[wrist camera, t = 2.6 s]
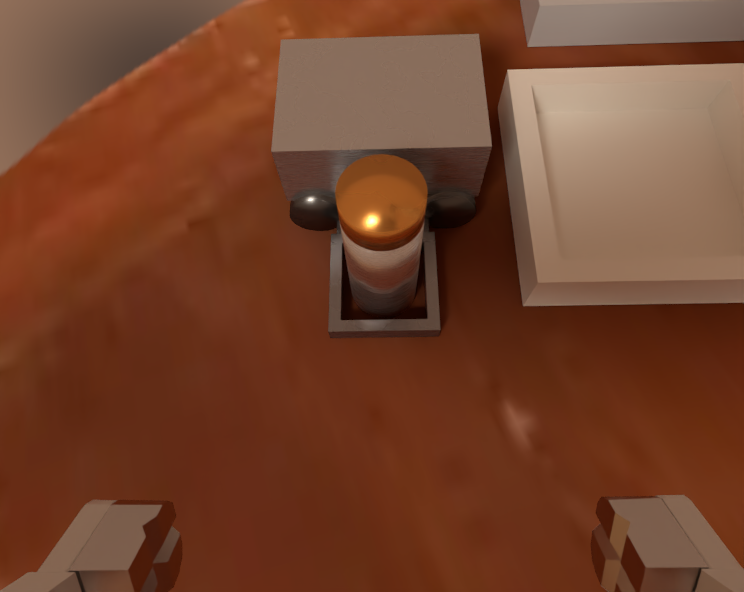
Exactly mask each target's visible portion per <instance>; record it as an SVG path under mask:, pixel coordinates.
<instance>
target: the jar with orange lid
mask: <svg viewBox="0 0 744 592" xmlns="http://www.w3.org/2000/svg"><path fill="white" fill-rule="evenodd" d="M427 193H428V190H427V184H426V181H425V179H424V177H423V175H422V174H421V172H420V171H419V170H418V169H417V167H415V166H414V165H413V164H412V163H410V162H409V161H407V160H405V159H403V158H400V157H397V156H393V155H387V154H377V155H371V156H367V157H363V158H361V159H359V160H357V161H355V162H353V163H352V164H351V165H349V166H348V167H347V168H346V169H345V170H344V171H343V173H342V174H341V176H340V177H339V179H338V182H337V185H336V190H335V198H336V204H337V210H338V216H339V222H340V228H341V233H342V239H343V245H344V251H345V257H346V263H347V269H348V274H349V280H350V286H351V292H352V297H353V299H354V301H355V303H356V305H357V306H358V307H359V308H360V309H361V310H362V311H363V312H365V313H366V314H368V315H370V316H373V317H377V318H391V317H394V316H397V315H399V314H401V313H403V312H404V311H405V310H407V309H408V308H409V306H410V305H411V304H412V302H413V300H414V298H415V295H416V288H417V279H418V271H419V263H420V254H421V246H422V237H423V229H424V221H425V212H426V204H427Z"/></svg>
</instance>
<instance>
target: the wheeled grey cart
mask: <svg viewBox="0 0 744 592" xmlns="http://www.w3.org/2000/svg"><path fill="white" fill-rule="evenodd" d="M491 148H492V142H491V133H490V125H489V116H488V108H487V99H486V91H485V82H484V74H483V66H482V57H481V49H480V40H479V34H459V35H425V36H392V37H358V38H324V39H290V40H281V47H280V58H279V70H278V81H277V93H276V104H275V116H274V127H273V139H272V150H271V152H272V155H273V158H274V161H275V164H276V167H277V170H278V174H279V177H280V180H281V183H282V186H283V189H284V192H285V195H286V198H287V201H291V204H290V218H291V220H292V221H293V222H294V223H295V224H296V225H298V226H300V227H302V228H305V229H309V230H316V231H325V230H331V229H334V228H337V234H331V261H330V295H329V329H328V332H329V335H330V338H359V337H429V336H439V333H440V314H439V297H438V280H437V264H436V247H435V232H429V226H431V227H435V228H453V227H457V226H461V225H463V224H465V223H467V222H469V221H470V220H471V219H473V217H474V216H475V214H476V206H475V197H478V195H479V191H480V188H481V184H482V180H483V177H484V173H485V170H486V166H487V163H488V159H489V155H490V152H491ZM377 154H387V155H393V156H397V157H400V158H403V159H405V160H407V161H409V162H410V163H412V164H413V165H414V166H415V167H417V169H418V170H419V171H420V172H421V174H422V175H423V177H424V179H425V181H426V184H427V190H428V193H427V204H426V212H425V221H424V229H423V237H422V246H421V251H423V264H424V284H425V305H426V319H388V320H342V313H343V259H344V252H345V251H344V245H343V239H342V233H341V228H340V222H339V216H338V210H337V204H336V198H335V190H336V185H337V182H338V179H339V177H340V176H341V174H342V173H343V171H344V170H345V169H346V168H347V167H348V166H349V165H351V164H352V163H353V162H355V161H357V160H359V159H361V158H363V157H367V156H371V155H377Z"/></svg>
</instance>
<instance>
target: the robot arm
mask: <svg viewBox="0 0 744 592" xmlns="http://www.w3.org/2000/svg"><path fill="white" fill-rule="evenodd" d="M596 515H597V517H598V519H599V521H600V524H599V525H598V526H597V527H596V528H595V529H594V530H593V531H592V538H591V554H592V562H593V565H594V569H595V572H596V575H597V577H598V579H599V582H600V584H601V586H602V587H604V588H605V589H606V590H607V591H608V592H744V569H743V568H742V567H741V566H740V564H739V563H738V562H737V560H736V559H735V558H734V556H733V555H732V554H731V552H730V551H729V550H728V549H727V547H726V546H725V545H724V543H723V542H722V541H721V539H720V538H719V537H718V535H717V534H716V533H715V531H714V530H713V529H712V527H711V526H710V525H709V524H708V522H707V521H706V520H705V518H704V517H703V516H702V514H701V513H700V512H699V510H698V509H697V508H696V506H695V505H694V504H693V503H692V501H691V500H690V499H689V498H687V497H686V496H684V495H659V496H615V497H601V498H600V500H599V501H598V503H597V509H596ZM175 518H176V513H175V509H174V505H173V503H172V502H170V501H160V500H92V501H90V502H88V503H87V504H85V505H84V507H83V508H82V509H81V511H80V512H79V514H78V515H77V516H76V518H75V519H74V521H73V522H72V523H71V525H70V526H69V528H68V529H67V530H66V532H65V533H64V535H63V536H62V537H61V539H60V540H59V542H58V543H57V544H56V546H55V547H54V549H53V550H52V551H51V553H50V554H49V556H48V557H47V558H46V560H45V561H44V562H43V564H42V565H41V567H40V568H39V569H38V571H37V572H28V573H27V574H25V575H24V576H22V577H21V578H19V579H17V580H16V581H14V582H13V583H11V584H10V585H8V586H7V587H5V588H4V589H2V590H1V591H0V592H168V591H170V590H171V589H172V588H173V587H174V585H175V582H176V580H177V577H178V574H179V571H180V566H181V561H182V540H181V535H180V533H179V532H178V531H177V530H175V529H174V528H173V527H172V524H173V522H174V520H175Z"/></svg>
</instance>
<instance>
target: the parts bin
mask: <svg viewBox="0 0 744 592" xmlns="http://www.w3.org/2000/svg"><path fill="white" fill-rule="evenodd" d="M520 4H521V10H522V16H523V22H524V28H525V34H526V40H527V46H528V47H540V46H575V45H609V44H644V43H678V42H713V41H744V0H520Z"/></svg>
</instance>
